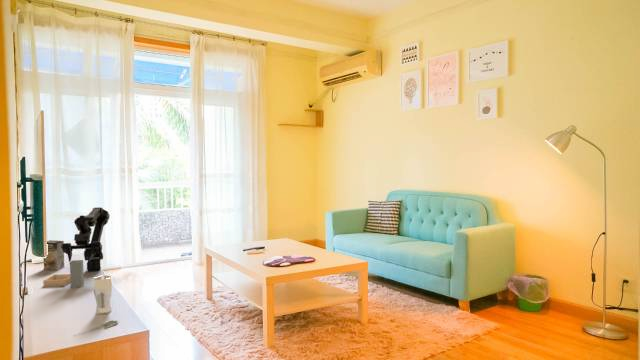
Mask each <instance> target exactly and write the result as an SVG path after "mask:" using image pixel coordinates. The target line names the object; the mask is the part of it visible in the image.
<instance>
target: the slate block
mask: <svg viewBox="0 0 640 360" xmlns="http://www.w3.org/2000/svg"><path fill="white" fill-rule="evenodd" d="M69 274H70V278H71V283H70V288H73V289H74V288H81V287H83V286H84V285H85V279H84V278H85V275H84V260H83V259H78V260H77V259H76V260H71V261H70V262H69Z"/></svg>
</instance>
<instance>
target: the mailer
mask: <svg viewBox="0 0 640 360" xmlns="http://www.w3.org/2000/svg"><path fill="white" fill-rule="evenodd" d="M42 283H43V287H65V286H67V285H69V284H71V278H70V273H64V274H62V273H60V274H57V273H56V274H53V275H51V276H49V277H48V278H45V279H43V280H42Z"/></svg>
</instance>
